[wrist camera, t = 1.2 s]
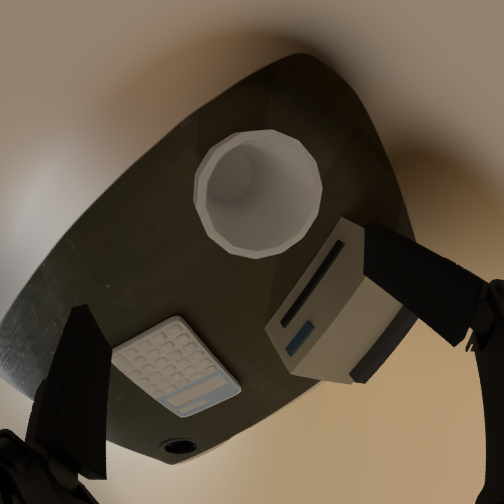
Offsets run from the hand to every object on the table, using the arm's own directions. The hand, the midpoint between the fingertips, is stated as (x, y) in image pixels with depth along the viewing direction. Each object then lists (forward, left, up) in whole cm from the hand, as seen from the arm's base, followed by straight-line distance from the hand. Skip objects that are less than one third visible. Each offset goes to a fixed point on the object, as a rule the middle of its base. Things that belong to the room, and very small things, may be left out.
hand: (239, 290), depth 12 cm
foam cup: (-4, +2, -21) cm, 22 cm away
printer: (+2, +26, -21) cm, 34 cm away
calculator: (+25, +11, -21) cm, 35 cm away
